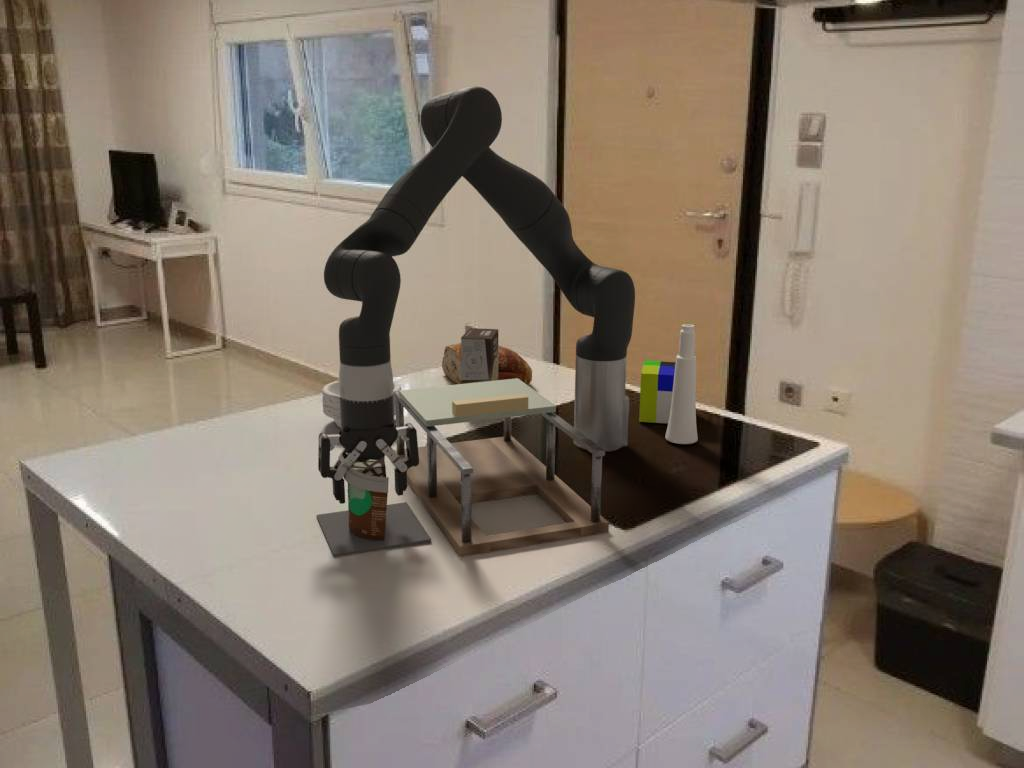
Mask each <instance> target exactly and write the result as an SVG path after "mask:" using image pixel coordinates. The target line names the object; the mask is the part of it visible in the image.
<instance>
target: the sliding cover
mask: <svg viewBox="0 0 1024 768" xmlns="http://www.w3.org/2000/svg"><path fill="white" fill-rule="evenodd" d="M399 397H400V398H401V399H402V400H403V401H404V402H405V403H406V405H407V406H408V407H409V408H410V409H411V410H412V411H413V412H414V414H415V415H416V416H417V417H418V418H419V419H420V420H421V421H422V423H423V424H424V425H425V426H426V427H429V426H435V427H436V426H444V425H453V424H462V423H470V422H478V421H479V422H480V421H487V420H496V419H504V418H507V417H511V418H513V417H515V418H516V417H522V416H524V417H525V416H531V415H541V414H542V413H550V412H554V413H557V406H556V405H555V403H553V402H552V401H550V400H548V398H546V397H544V396H543V395H542V394H541V393H539V392H538V391H536V390H535V389H534V388H532V387H531V386H529V384H527V385H526V384H525V383H524V382H522V381H521V380H519V379H518V378H516V379H506V380H496V381H486V382H477V383H467V384H448V385H437V386H428V387H427V386H426V387H420V388H418V387H417V388H409V389H401V390H399Z"/></svg>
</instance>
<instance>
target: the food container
mask: <svg viewBox="0 0 1024 768" xmlns="http://www.w3.org/2000/svg"><path fill="white" fill-rule="evenodd" d="M385 458H386V455H385V456H384V457H382V458H381V460H371V459H370V460H368V461H365V462H359V461H357V460H356V461H355V462H354V464H353V465H352V467H351V468H350V469H348V470H347V472H346V473H345V475H344V476H343V479H344V482H346V483H347V506H348V508H347V509H348V512H349V529H350V530H351V531H352V532H353V533H354V534H356V535H358V536H360V537H363V538H367V539H372V540H385V525H386V511H387V505H388V494H389V483H390V482H389V479H390V478H389V477H388V476H387V469H386V468H387V467H386V461H385V460H386V459H385Z"/></svg>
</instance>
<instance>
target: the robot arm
mask: <svg viewBox="0 0 1024 768" xmlns="http://www.w3.org/2000/svg"><path fill="white" fill-rule="evenodd" d="M502 123H503V116H502V109H501V105H500V103H499V100H498V99H497V97H496V96H495V95H494V94H493V92H491V91H490V90H489V89H487V88H485V87H483V86H475V85H474V86H467V87H466V86H465V87H463V88H459V89H456V90H452V91H449V92H445V93H441V94H438V95H437V96H434V97H431V98H430V99H429V100H427V101H426V103H424V104H423V106H422V108H421V111H420V125H421V130H422V132H423V135H424V136H425V138H426V141H427V142H428V144H429V145H430V147H431V149H430V150H429V151H428V152H427V153H426V154H425V155H424V156H423V157H422V158H421V159H419V160H418V162H416V163H415V164H413V166H412V167H410V168H409V169H408V170H407V171H406V172H405V173H404V174H403V175H401V176H400V177H399V178H398V179H397V180H396V181H395V182H394V184H392V185H391V186H390V188H389V189H388V190H387V192H386V193H385V194H384V196H383V197H382V199H381V200H380V202H379V203H378V204H377V205H376V207H375V209H374V210H373V212H372V214H371V215H370V217H369V219H367V220H366V221H365V222H364V223H362V224H360V225H359V226H358V227H357V228H356V229H355V230H354V231H353V232H351V233H350V234H349V235H347V236H346V238H344V239H343V240H342V241H341V242H339V244H338V245H337V246H336V247H335V248H334V249H333V251H331V253H330V255H329V256H328V258H327V260H326V263H325V265H324V269H323V280H324V281H323V282H324V285H325V288H326V289H327V291H328V292H329V293H330V294H331V295H332V296H334V297H335V298H339V299H342V300H347V301H354V302H355V301H357V302H361V308H360V309H361V310H360V313H359V315H357V316H352V317H348V318H346V319H345V320H342V322H341V323H340V325H339V329H338V347H339V348H338V350H339V351H338V352H339V370H338V371H339V372H338V381H339V393H340V414H341V428H340V430H339V432H338V433H337V434H336V433H335V434H327V433H326V432H320V433H319V434H318V455H317V456H318V458H317V460H318V462H317V466H318V472H319V473H320V476H321V477H322V478H323V479H326V478H329V479H332V480H331V481H332V495H333V496H334V498H335V501H338V503H339V504H340V505H341V504H342V505H343V504H346V492H345V491H346V488H345V487H346V486H345V479H344V477H343V476H344V475H345V473H346V472H347V470H348V469H350V468H351V467H352V465H353V464H354V462H355V461H356V460H357V461H359V462H365V461H368V460H370V459H371V460H381V458H382V457H384V456H385V457H387V458H388V460H389V461H390V462H391V463H392V464H393V465H394V466H395V467H394V469H393V470H394V490H395V493H396V494H397V496H399V497H400V496H404V492H405V491H407V489H408V483H407V470H408V469H409V468H410V467H412V466H417V465H418V464H419V453H418V447H419V443H418V431H417V429H416V427H414V425H413V424H412V423H411V422H407V423H406V424H405V423H404V427H398V428H396V424H395V415H394V399H393V390H394V383H393V381H394V375H393V368H392V363H391V362H392V361H391V358H392V357H391V336H390V333H391V328H392V324H393V319H394V315H395V311H396V306H397V303H398V300H399V299H398V297H399V293H400V290H401V282H402V279H401V271H400V268H399V266H398V263H397V262H396V260H395V258H394V257H397V256H402V255H404V254H406V253H407V252H408V251H410V249H411V248H412V247H413V245H414V243H415V242H416V240H417V239H418V237H419V236H420V234H421V232H422V231H423V230H424V228H425V226H426V224H427V223H428V221H429V220H430V218H431V216H432V215H433V214H434V212H435V210H437V208H438V207H439V206H440V204H441V203H442V201H443V200H444V199H445V197H446V196H447V195H448V193H449V192H450V191H451V190H452V189H453V187H454V186H455V185H456V184H457V183H458V182H459V180H460V179H461V178H463V179H465V180H466V181H467V182H468V183H469V184H470V185H471V186H472V187H473V188H474V190H476V191H477V193H478V194H479V195H480V196H481V197H482V199H484V201H485V202H486V203H487V204H488V205H489V206H490V207H491V208H492V209H493V210H494V212H496V214H497V215H498V216H499V217H500V218H501V220H503V222H504V223H505V225H506V226H507V227H508V228H509V230H510V231H511V232H512V233H513V234H514V235H515V237H516V238H517V239H518V240H519V241H520V242H521V243H522V244H523V245H524V246H525V247H526V249H527V250H528V251H529V252H530V253H531V254H532V255H533V256H534V257H535V259H536V260H537V261H538V262H539V263H540V264H541V266H542V267H544V269H545V270H546V271H547V272H548V273H549V274H550V276H551V278H552V279H553V280H554V282H555V283H556V285H557V286H558V287H559V289H560V291H561V292H562V294H563V295H564V297H565V298H566V300H567V301H568V303H569V304H570V305H571V306H572V307H573V309H574V310H575V311H577V312H579V313H581V315H584V316H588V317H591V318H593V323H592V325H593V327H592V332H591V333H589V334H587V335H583V336H581V337H579V338H578V339H577V340H576V345H575V374H574V376H575V377H574V379H575V382H574V408H573V409H574V413H573V415H574V416H573V420H574V421H573V427H574V428H575V429H577V430H578V431H579V432H581V433H582V434H583V435H585V436H586V437H587V438H589V439H590V440H592V441H593V442H594V443H596V444H597V445H598V446H600V447H601V448H602V449H604V450H605V452H607V453H608V452H614V451H618V450H619V449H621V448H623V447H628V441H629V440H628V439H629V416H630V414H629V413H630V397H629V396H628V395H626V377H627V355H628V348H629V345H630V342H631V339H632V334H633V325H634V324H633V323H634V314H635V306H636V289H635V284H634V280H633V278H632V276H631V275H630V274H629V273H628V272H627V271H624V270H621V269H617V268H612V267H606V266H602V265H599V264H596V263H594V262H593V261H592V260H591V259H590V258H588V257H587V255H585V253H584V252H583V250H581V249H580V247H579V246H578V245H577V244H576V241H575V240H574V237H573V230H572V228H573V227H572V224H571V218H570V215H569V212H568V211H567V209H566V208H565V206H564V205H563V203H562V202H561V200H560V199H559V198H558V197H557V196H556V194H555V193H554V192H553V191H552V189H551V188H550V187H549V186H548V185H547V184H546V183H545V181H543V180H542V179H540V178H539V177H538V176H535V175H534V174H533V173H531V172H530V171H528V170H526V169H524V168H522V167H520V166H519V165H516V164H514V163H512V162H510V161H509V160H507V159H505V158H503V157H502V156H501V155H499V154H498V153H496V152H495V151H494V150H493V149H492V148H490V147H491V146H492V144H493V143H494V142H495V140H496V139H497V137H498V136H499V134H500V131H501V128H502V125H503V124H502ZM398 436H401V438H402V439H403V441H405V449H406V452H407V457H405V458H402V459H401V458H400V457H399V456H398V454H397V453H396V452H395V451H394V450H395V449H393V447H392V446H393V445H394V443H395V442H396V441H397V440H396V439H397V437H398ZM338 443H339V444H340V446H341V447H342V448H343V450H342V451H341V453H340V454H339V456H338V459H337V460H336V462H335V463H334V465H333V466H331V451H333V450H334V449H335V447H336V445H337V444H338ZM573 444H574V445H575V446H576V447H578V448H580V449H582V450H586V449H585V448H584V447H583V446H581V445H580V444H579V443H577V442H576V441H575V440H573Z"/></svg>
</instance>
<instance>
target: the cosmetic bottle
mask: <svg viewBox="0 0 1024 768" xmlns="http://www.w3.org/2000/svg"><path fill="white" fill-rule="evenodd" d="M681 328H682V329H681V330H680V331H679V345H678V354H677V355H676V358H675V362H676V364H675V373H674V383H673V393H672V402H671V410H670V417H669V422H668V424H667V428H666V431H665V436H664V437H665V439H666V441H667V442H670V443H672V444H673V443H674V444H676V445H677V444H678V445H692V444H694V443H697V442H698V440H699V437H698V429H697V413H696V411H697V410H696V408H697V406H696V404H697V402H696V401H697V400H696V399H697V398H696V397H697V391H696V389H697V356H695V347H696V345H695V344H696V331H695V330H694V329H695V325H694V324H689V323H688V324H682V325H681Z"/></svg>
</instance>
